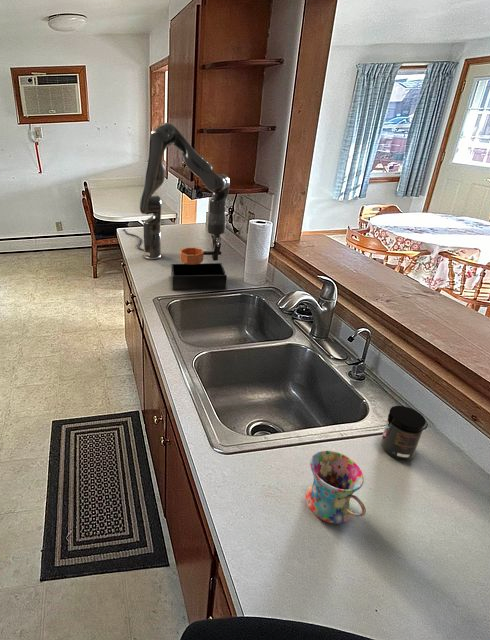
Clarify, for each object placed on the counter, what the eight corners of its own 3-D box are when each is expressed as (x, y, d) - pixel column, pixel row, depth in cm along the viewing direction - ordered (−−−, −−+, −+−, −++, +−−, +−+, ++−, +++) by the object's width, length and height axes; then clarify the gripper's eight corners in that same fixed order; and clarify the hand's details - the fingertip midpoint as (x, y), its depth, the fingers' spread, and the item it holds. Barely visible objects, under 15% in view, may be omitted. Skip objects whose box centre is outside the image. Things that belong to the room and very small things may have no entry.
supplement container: (404, 439, 94) (415, 406, 90) (419, 463, 88) (432, 428, 84) (374, 438, 95) (384, 404, 91) (387, 461, 89) (398, 426, 85)
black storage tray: (171, 276, 188) (171, 263, 186) (220, 276, 187) (221, 263, 184) (172, 290, 175) (172, 276, 172) (225, 289, 173) (226, 275, 170)
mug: (293, 493, 83) (299, 457, 78) (329, 480, 85) (337, 445, 81) (335, 549, 72) (346, 511, 68) (375, 533, 75) (388, 495, 70)
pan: (181, 264, 172) (181, 255, 170) (179, 256, 181) (179, 247, 179) (222, 264, 171) (222, 254, 169) (218, 256, 180) (219, 247, 178)
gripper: (228, 226, 162) (225, 264, 169) (223, 217, 174) (221, 253, 181) (210, 226, 162) (208, 265, 169) (206, 217, 175) (204, 254, 182)
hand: (214, 259), depth 175 cm, fingers closed on pan
